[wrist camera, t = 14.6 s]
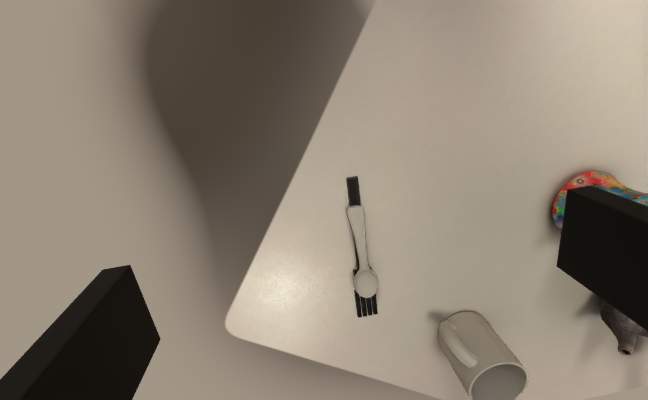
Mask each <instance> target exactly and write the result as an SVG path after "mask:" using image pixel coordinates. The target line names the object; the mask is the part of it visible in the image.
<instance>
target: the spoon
mask: <svg viewBox="0 0 648 400" xmlns="http://www.w3.org/2000/svg"><path fill="white" fill-rule="evenodd" d="M347 215H348V218H349V221H350V224H351V227H352V230H353V233H354V238H355V243H356V248H357V253H358V258H359V265H360V267H359V271H358V272H357V273H356V275H355V278H354V287H355V290H356V292H357V293H358V294H359V295H360V296H361V297H364V298H370V297H372V296H373V295H374V294H375V293H376V292H377V289H378V278H377V276H376V274H375V273H374V271H372V270H371V269H370V268H369V266H368V259H367V247H366V239H365V229H364V209H363V207H362V206H359V205H355V206H351V207H349V208H348V209H347Z"/></svg>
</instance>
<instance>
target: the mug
mask: <svg viewBox="0 0 648 400" xmlns="http://www.w3.org/2000/svg"><path fill="white" fill-rule="evenodd" d="M590 185H592V186H594V187H597V188H600V189H603V190H605V191H608V192H611V193H613V194H616V195H619V196H621V197H624V198H627V199H630V200H632V201H635V202H638V203H640V204H643V205H646V206H648V194H647V193H642V192H638V191H635V190H632V189H629V188H627V187H625V186H623V185H622V184H620V183H619V182H618V180H617V179H616V178H615V177H614V176H612V175H611V174H609V173H607V172H603V171H591V172H586V173H583V174H581V175H579V176H577V177H575V178H573V179H572V180H571V181H569V182H568V183H567V184H566V185H565V186H564V187H563V188H562V189H561V191H560V192H559V194H558V195H557V197H556V199H555V202H554V205H553V210H552V216H553V221H554V224H555V225H556V227H557V228H558V229H559V230H560V231H562V224H563V217H564V209H565V202H566V194H567V189H572V188H578V187H584V186H590Z"/></svg>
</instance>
